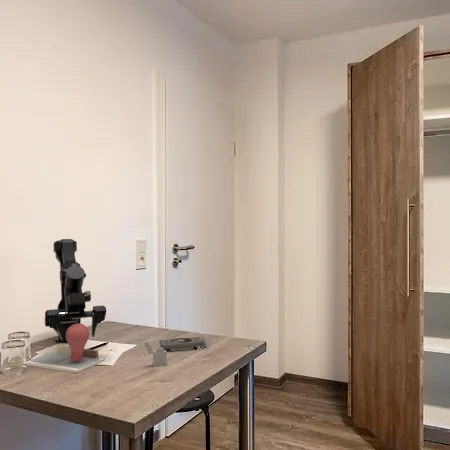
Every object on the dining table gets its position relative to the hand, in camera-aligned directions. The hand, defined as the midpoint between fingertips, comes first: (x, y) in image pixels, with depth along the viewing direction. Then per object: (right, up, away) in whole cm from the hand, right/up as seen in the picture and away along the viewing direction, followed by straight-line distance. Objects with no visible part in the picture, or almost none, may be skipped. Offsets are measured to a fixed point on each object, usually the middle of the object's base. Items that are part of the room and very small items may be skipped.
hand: (78, 338), depth 142 cm
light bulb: (-1, -8, +1) cm, 8 cm away
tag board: (-5, -9, +3) cm, 11 cm away
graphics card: (+31, -9, +22) cm, 39 cm away
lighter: (+24, -9, +1) cm, 26 cm away
